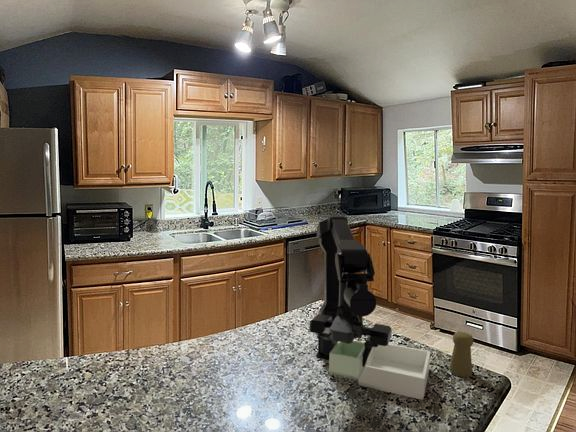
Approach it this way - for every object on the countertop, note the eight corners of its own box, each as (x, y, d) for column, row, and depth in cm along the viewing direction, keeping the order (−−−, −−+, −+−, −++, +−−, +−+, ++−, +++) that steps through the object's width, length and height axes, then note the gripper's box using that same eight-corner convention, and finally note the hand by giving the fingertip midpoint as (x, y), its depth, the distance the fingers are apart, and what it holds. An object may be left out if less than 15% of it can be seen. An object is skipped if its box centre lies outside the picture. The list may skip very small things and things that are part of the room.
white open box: (358, 385, 108) (359, 365, 108) (371, 358, 123) (372, 340, 122) (423, 400, 102) (424, 378, 101) (429, 370, 117) (430, 351, 116)
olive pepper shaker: (474, 378, 113) (477, 339, 111) (450, 375, 114) (453, 337, 112) (469, 367, 118) (472, 330, 117) (447, 364, 120) (449, 328, 118)
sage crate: (328, 373, 98) (329, 353, 98) (339, 356, 106) (340, 338, 106) (358, 379, 96) (359, 359, 95) (367, 362, 104) (368, 343, 103)
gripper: (301, 305, 95) (300, 369, 97) (384, 318, 88) (381, 388, 90) (318, 291, 105) (316, 350, 107) (393, 302, 98) (390, 365, 100)
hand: (348, 362), depth 101 cm, fingers closed on sage crate, 7 cm apart
